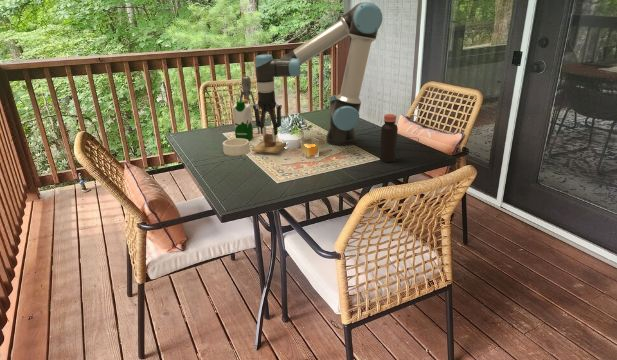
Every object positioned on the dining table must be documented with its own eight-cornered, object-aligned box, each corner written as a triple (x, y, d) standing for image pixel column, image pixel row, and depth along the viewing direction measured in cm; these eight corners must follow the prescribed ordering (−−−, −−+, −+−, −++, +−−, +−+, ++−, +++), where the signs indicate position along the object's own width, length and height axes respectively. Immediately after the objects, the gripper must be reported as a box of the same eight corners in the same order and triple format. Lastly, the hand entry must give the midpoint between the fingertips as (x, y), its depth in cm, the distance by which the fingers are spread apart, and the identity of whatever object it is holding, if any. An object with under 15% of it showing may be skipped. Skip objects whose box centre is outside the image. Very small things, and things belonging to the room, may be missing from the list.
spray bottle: (259, 133, 224) (255, 77, 212) (238, 134, 224) (233, 77, 212) (261, 128, 233) (258, 74, 221) (241, 129, 233) (237, 74, 221)
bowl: (253, 149, 200) (252, 139, 198) (243, 157, 190) (242, 147, 188) (230, 147, 203) (229, 137, 201) (219, 155, 193) (218, 145, 191)
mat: (289, 147, 201) (289, 146, 201) (279, 158, 188) (279, 157, 188) (260, 145, 205) (260, 144, 205) (248, 155, 192) (248, 154, 191)
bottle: (385, 156, 187) (388, 112, 179) (398, 160, 183) (401, 115, 175) (376, 160, 183) (378, 115, 175) (389, 164, 178) (392, 118, 171)
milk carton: (234, 142, 211) (230, 103, 203) (238, 137, 219) (235, 99, 211) (251, 142, 210) (248, 103, 202) (255, 137, 218) (252, 99, 210)
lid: (287, 143, 200) (287, 131, 197) (279, 152, 188) (278, 140, 186) (262, 142, 203) (261, 130, 201) (252, 151, 191) (251, 138, 189)
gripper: (286, 89, 186) (289, 139, 195) (251, 89, 191) (255, 138, 200) (281, 93, 180) (284, 144, 189) (244, 92, 184) (249, 142, 193)
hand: (269, 141), depth 194 cm, fingers closed on lid, 4 cm apart
